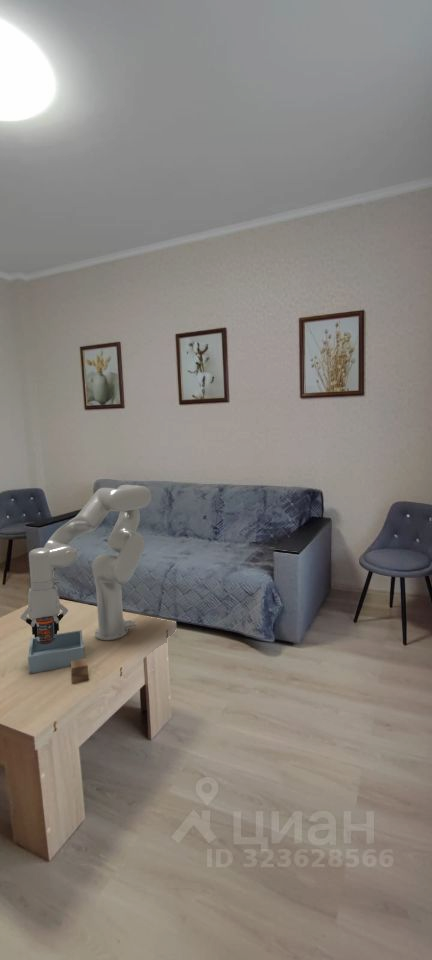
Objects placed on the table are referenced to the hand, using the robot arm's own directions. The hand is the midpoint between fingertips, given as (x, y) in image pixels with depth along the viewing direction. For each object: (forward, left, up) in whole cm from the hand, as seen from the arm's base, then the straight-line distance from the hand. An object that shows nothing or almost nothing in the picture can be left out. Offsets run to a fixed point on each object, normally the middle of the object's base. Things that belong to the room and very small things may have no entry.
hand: (46, 634), depth 159 cm
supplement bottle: (0, 0, -3) cm, 3 cm away
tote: (-3, 0, -10) cm, 10 cm away
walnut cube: (-10, +16, -10) cm, 21 cm away
